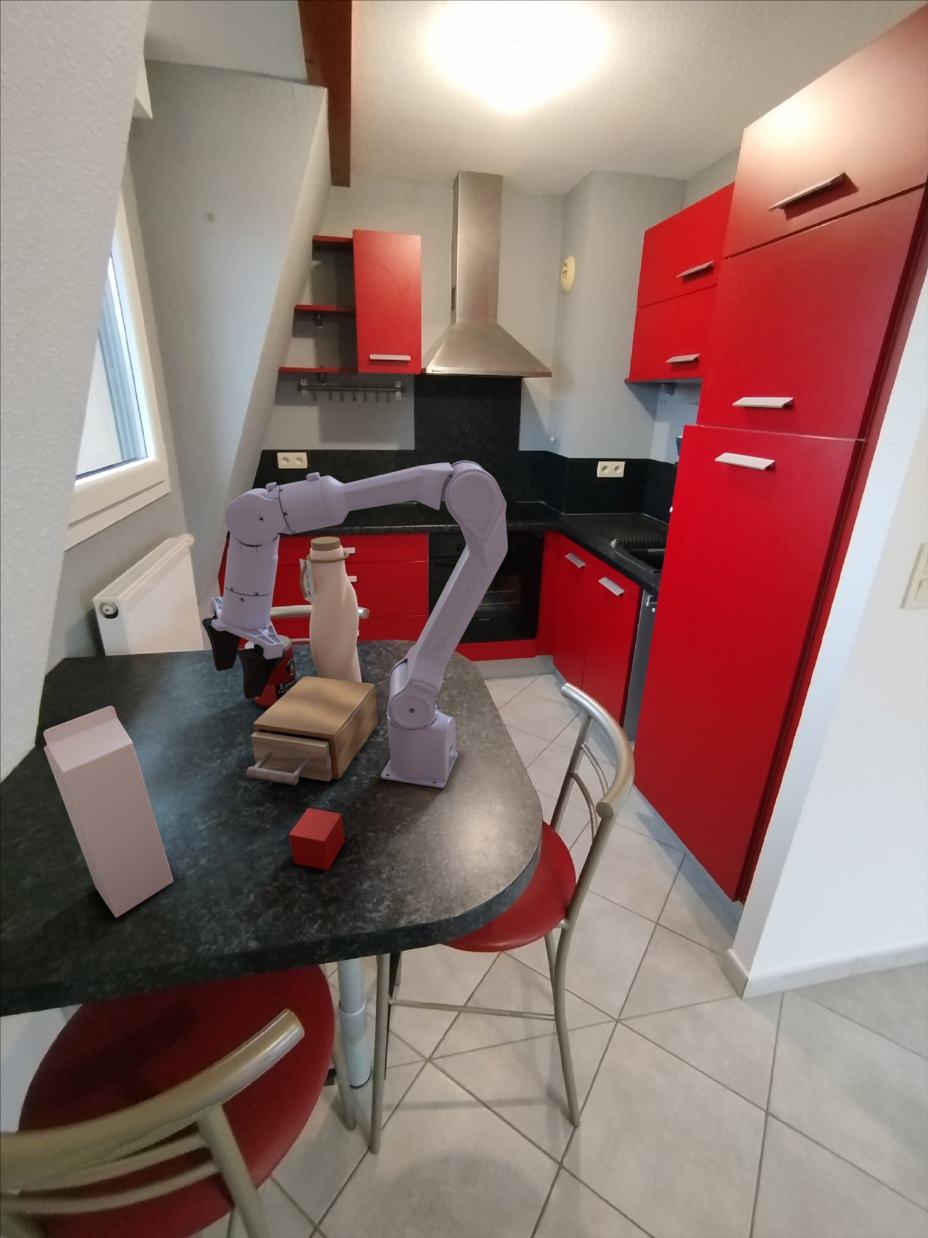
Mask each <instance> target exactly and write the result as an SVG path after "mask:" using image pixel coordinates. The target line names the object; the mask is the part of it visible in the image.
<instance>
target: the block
mask: <svg viewBox="0 0 928 1238" xmlns="http://www.w3.org/2000/svg"><path fill="white" fill-rule="evenodd" d="M288 836H289V837H288V838H289V842H290V847H291V854H292V859H293V864H296V865H301V866H306V867H310V868H314V869H321V870H325V871H329V870H330V868H331V866H332V864H333V863H334V862H335V859H336V858H337V856H338V854H339V852H340V851H341V849H342V848H343V846H344V844H345V833H344V825H343V817H342V813H338V812H332V811H328V810H327V811H326V810H321V809H315V808H310V807H308V808H307V809H306V811H305V812H304V813H303V814H302V815H301V817H300V819H299V820H298V822H297V823H296V824H295V826H294V827H293V828H292V830H291V831H290V832H289V834H288Z"/></svg>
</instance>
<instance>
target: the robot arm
mask: <svg viewBox="0 0 928 1238" xmlns="http://www.w3.org/2000/svg"><path fill="white" fill-rule="evenodd" d="M305 478H306V479H305V480H300V481H295V482H289V483H285V484H279V485H278V484H277V482H275V481H274V482H270V483H269V482H268V483H267V484H266V485H265V488H261V487H260V488H258V487H257V488H253V489H250V490H248V491H246V492H244V493H243V494H241V495H239V496H238V497H235V498H234V499H233V500H232V501H231V503H229V504H228V506H227V508H226V511H225V514H224V519H225V526H226V528H227V530H228V532H229V533H230V535H229V543H228V548H227V554H226V563H225V564H226V565H225V575H224V585H223V594H222V596H220V597H210V605H209V612H210V613H212V614H213V615H212V617H206V618H203V619H202V620H201V624H202V626H203V628H204V630H205V632H206V634H207V636H208V640H209V643H210V646H211V652H212V657H213V663H214V667H215V670H216V671H217V672H222V671H225V670H226V671H227V670H231V669H233V668H234V666H235V664H236V660H237V656H238V659H239V661H240V664H241V669H242V676H243V677H242V678H243V681H242V682H243V683H242V684H243V685H242V686H243V687H242V688H243V689H242V690H243V695H244V698H245V699H247V700H250V699H254V697H258V696H261V695H262V693H263V691H264V689H265V687H266V684H267V682H268V680H269V678H270V676H271V674H272V673H273V671H274V670H275V668H276V667H277V666H278V665H279V664H280V662H281V661H282V660H283V659H284V658H285V657H286V651H285V650H284V649H283V645H284V643H283V642H282V641H281V640H280V639H279V638H278V636H277V635H278V633H277V631H276V629H275V626H274V624H273V622H272V620H271V614H272V607H273V598H274V593H275V592H274V590H275V584H276V578H277V577H276V576H277V569H278V562H279V553H278V552H279V544H280V538H281V537H280V536H281V535H280V534H286V535H294V534H299V533H304V532H309V531H313V530H319V529H323V528H328V527H332V526H337V525H341V524H343V523H344V521H345V519H346V517H347V516H348V514H349V513H350V512H353V511H357V510H363V509H369V508H375V507H376V508H377V507H381V506H387V505H394V504H399V503H400V504H401V503H405V502H413V501H415V502H418V503H420V504H423V505H425V506H427V507H430V508H432V509H434V510H436V511H440V509H441V502H445V506H446V509H447V511H448V513H449V514H450V515H451V516H452V518H453V519H454V521H455V522H456V523H457V524H458V525H459V527H460V529H461V532H462V535H463V537H464V540H465V547H464V549H463V550H462V553H461V555H460V557H459V559H458V560H457V562H456V565H455V567H454V568H453V570H452V573H451V574H450V576H449V578H448V580H447V582H446V584H445V586H444V588H443V590H442V591H441V594H440V596H439V598H438V600H437V602H436V604H435V606H434V608H433V610H432V611H431V613H430V615H429V617H428V619H427V621H426V623H425V625H424V627H423V629H422V631H421V633H420V635H419V637H418V639H417V641H416V643H415V644H414V645H412V647H410V648H408V651H407V653H406V654H405V656H404V657H403V658H402V659H400V660H399V661H398V662H397V663H396V664H394V665H393V666H392V668H391V670H390V673H389V677H388V679H389V697H388V698H389V699H388V703H387V710H386V719H387V720H386V722H387V733H388V735H387V736H388V745H389V746H388V748H389V749H388V750H389V760H388V762H387V763H386V765H385V767H384V768H383V770H382V771H381V773H380V778H381V779H382V780H388V781H394V782H399V783H400V782H401V783H407V784H412V785H420V786H425V787H433V788H437V789H443V788H445V787H446V785H447V782H448V780H449V777H450V775H451V773H452V770H453V768H454V765H455V762H456V761H457V758H458V752H457V725H456V719H455V717H454V716H450V715H447V714H445V713H442V712H441V711H439V708H438V706H437V704H436V700H437V697H438V695H439V694H440V691H441V689H442V684H443V679H444V675H445V671H446V667H447V665H448V663H449V661H450V660H451V658H452V656H453V654H454V653H455V650H456V649H457V647H458V645H459V643H460V641H461V639H462V637H463V636H464V634H465V632H466V630H467V628H468V626H469V624H470V622H471V621H472V618H473V617H474V616H475V613H476V611H477V609H478V607H479V606H480V604H481V602H482V600H483V598H484V596H485V595H486V593H487V591H488V589H489V587H490V585H491V583H492V582H493V580H494V578H495V576H496V574H497V572H499V571H498V570H499V569H500V567H501V565H502V564H503V562H504V559H505V557H506V555H507V552H508V550H509V549H508V548H509V546H508V545H509V544H508V543H509V542H508V533H507V516H506V512H507V501H506V499H505V497H504V495H503V493H502V489H501V488H500V486H499V483H498V482H497V480H496V479H495V477H493V475H491V474H490V472H488V471H486V470H485V469H484V468H483V467H482V466H481V465H480V464H479V463H477V462H475V461H473V460H472V461H471V460H459V461H456V462H453V463H452V464H450V462H438V463H437V462H436V463H429V464H422V465H417V466H413V467H409V468H408V467H407V468H405V469H401V470H397V471H393V472H388V473H384V474H379V475H376V476H371V477H367V478H364V479H358V480H355V481H351V482H346V483H343V482H341V481H339V480H338V479H336V478H334V477H333V476H330V475H324V476H323V475H322V476H320V472H317V471H315V472H312V473H308V474H307V475H305ZM242 639H244V640H247V641H248V642H249V641H251V642H253V643H254V648H248V649H245V648H244V649H239V646H240V643H241V640H242Z"/></svg>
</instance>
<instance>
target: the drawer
mask: <svg viewBox="0 0 928 1238" xmlns="http://www.w3.org/2000/svg"><path fill="white" fill-rule="evenodd" d="M250 740H251V746H252V751H253V756H254V761H255V765H254V766H248V768H247V769H246V772H245V776H246V777H247V778H249V779H255V780H261V781H268V782H273V783H280V784H286V785H290V786H291V785H292V786H296V785H297V784H298V783H299V779H300V778H305V779H311V780H318V781H325V782H330V781H331V780H332V779H333V778H332V777H333V774H332V767H333V766H332V758H331V750H330V742H329V739H327V738H320V737H313V736H306V735H299V734H292V733H285V732H278V731H271V730H266V733H263V732H253V733H251V735H250Z"/></svg>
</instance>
